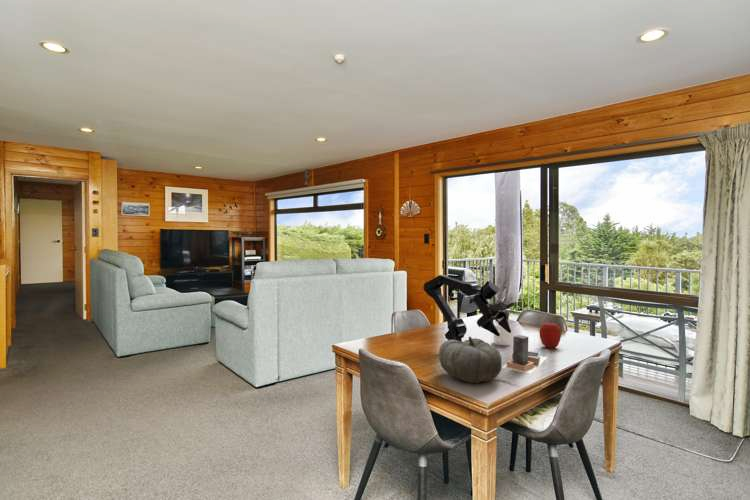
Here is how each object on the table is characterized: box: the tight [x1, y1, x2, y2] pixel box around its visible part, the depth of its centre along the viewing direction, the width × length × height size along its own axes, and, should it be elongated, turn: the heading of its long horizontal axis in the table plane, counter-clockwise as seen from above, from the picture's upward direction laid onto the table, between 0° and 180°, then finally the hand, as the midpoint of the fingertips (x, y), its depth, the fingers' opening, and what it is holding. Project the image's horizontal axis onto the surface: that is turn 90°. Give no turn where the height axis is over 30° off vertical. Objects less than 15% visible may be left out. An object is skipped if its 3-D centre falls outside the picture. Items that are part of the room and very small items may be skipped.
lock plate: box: [501, 353, 548, 375], centre depth 174 cm, size 28×12×4 cm, turn 143°
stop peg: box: [512, 334, 529, 365], centre depth 167 cm, size 4×4×13 cm
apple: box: [539, 321, 562, 349], centre depth 201 cm, size 10×10×14 cm
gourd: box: [438, 336, 503, 384], centre depth 157 cm, size 25×25×17 cm
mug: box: [493, 323, 512, 346], centre depth 204 cm, size 12×8×10 cm
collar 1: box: [506, 359, 534, 371], centre depth 168 cm, size 8×8×2 cm
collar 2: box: [528, 350, 541, 361], centre depth 180 cm, size 8×8×2 cm
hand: (504, 334), depth 173 cm, fingers open, 9 cm apart
